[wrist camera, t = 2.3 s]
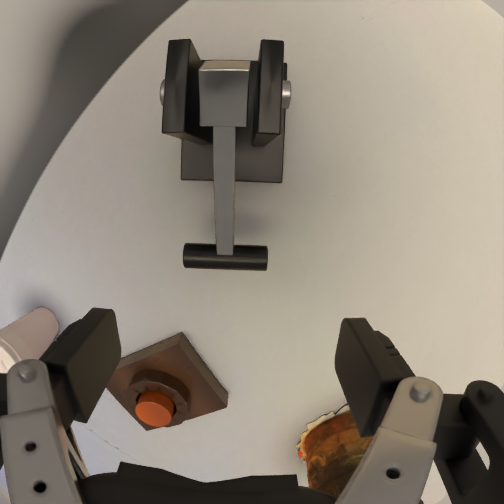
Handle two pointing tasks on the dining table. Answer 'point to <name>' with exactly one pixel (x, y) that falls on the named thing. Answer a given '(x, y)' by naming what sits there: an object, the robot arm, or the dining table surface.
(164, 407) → the button
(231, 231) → the switch
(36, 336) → the smoothie
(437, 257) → the dining table surface
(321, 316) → the dining table surface
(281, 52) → the switch bracket
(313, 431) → the vessel
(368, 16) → the dining table surface
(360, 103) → the dining table surface
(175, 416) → the button block
